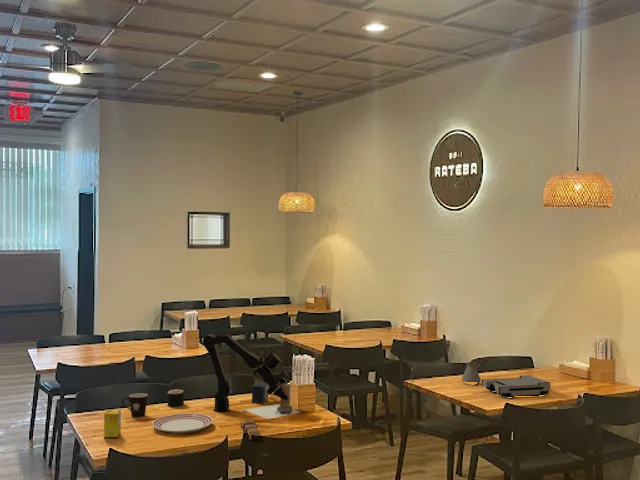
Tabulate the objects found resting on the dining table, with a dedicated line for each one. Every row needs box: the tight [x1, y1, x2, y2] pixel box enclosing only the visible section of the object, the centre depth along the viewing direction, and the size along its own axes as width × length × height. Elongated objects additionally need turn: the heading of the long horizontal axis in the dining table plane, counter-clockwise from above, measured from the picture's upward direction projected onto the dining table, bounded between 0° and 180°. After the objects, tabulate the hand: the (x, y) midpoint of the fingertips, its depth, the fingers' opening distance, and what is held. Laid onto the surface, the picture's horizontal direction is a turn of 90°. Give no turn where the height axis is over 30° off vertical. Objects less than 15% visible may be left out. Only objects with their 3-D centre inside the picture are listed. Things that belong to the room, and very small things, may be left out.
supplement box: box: [103, 409, 122, 440], centre depth 282 cm, size 6×6×11 cm
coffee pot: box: [461, 357, 493, 383], centre depth 400 cm, size 21×12×15 cm, turn 115°
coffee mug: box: [121, 392, 148, 418], centre depth 317 cm, size 12×9×10 cm
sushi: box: [167, 388, 185, 408], centre depth 338 cm, size 8×8×8 cm
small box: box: [251, 381, 269, 405], centre depth 344 cm, size 11×6×10 cm, turn 168°
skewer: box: [240, 419, 260, 440], centre depth 289 cm, size 21×6×5 cm, turn 17°
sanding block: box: [277, 383, 293, 412], centre depth 323 cm, size 8×6×13 cm
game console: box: [481, 374, 551, 397], centre depth 373 cm, size 21×32×8 cm, turn 105°
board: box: [243, 403, 301, 420], centre depth 323 cm, size 20×21×1 cm
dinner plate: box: [151, 412, 214, 434], centre depth 297 cm, size 27×27×3 cm
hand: (288, 398), depth 323 cm, fingers open, 5 cm apart
